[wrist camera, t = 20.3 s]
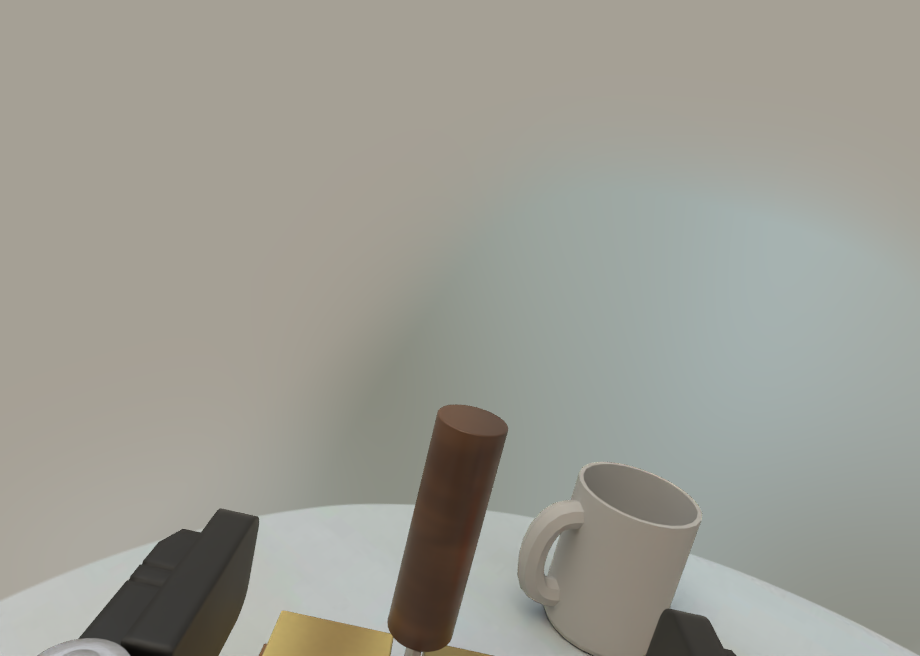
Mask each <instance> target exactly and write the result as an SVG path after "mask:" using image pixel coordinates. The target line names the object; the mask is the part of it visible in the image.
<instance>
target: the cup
mask: <svg viewBox="0 0 920 656" xmlns="http://www.w3.org/2000/svg"><path fill="white" fill-rule="evenodd" d="M701 520H702V512H701V510H700V508H699V505H698V504H697V503H696V502H695V501H694V500H693V499H692V497H691V496H689V495H688V494H687V493H685V492H684V491H683V490H682V489H680V488H679V487H677V486H676V485H674V484H672V483H671V482H669V481H667V480H665V479H663V478H661V477H659V476H657V475H655V474H653V473H650V472H647V471H645V470H642V469H639V468H636V467H632V466H628V465H625V464H619V463H612V462H596V463H590V464H588V465H586V466H584V467H582V469H581V470H580V472H579V474H578V478H577V481H576V485H575V487H574V491H573V494H572V497H571V500H565V501H561V502H557V503H553V504H552V505H550V506H549V507H547V508H545V509H544V510H542V511H541V512H540V513H539V514H538V515H537V517H536V518H535V519H534V520H533V521H532V523H531V524H530V526H529V528H528V530H527V532H526V534H525V536H524V538H523V541H522V545H521V548H520V552H519V560H518V573H517V575H518V579H519V584H520V588H521V589H522V590H523V591H524V592H525V594H526V595H527V596H528V597H529V598H531V599H532V600H534V601H536V602H538V603H541V604H543V605H544V608H545V611H546V614H547V616H548V619H549V621H550V622H551V624H552V625H553V626H554V628H555V629H556V630H557V631H558V632H559V633H560V634H561V635H562V636H563V637H564V638H565V639H566V640H567V641H569V642H570V643H572V644H573V645H575V646H576V647H577V648H579V649H581V650H583V651H585V652H587V653H589V654H591V655H593V656H643V655H645V654H646V653H647V650H648V647H649V645H650V642H651V639H652V637H653V634H654V631H655V628H656V626H657V623H658V620H659V618H660V615H661V614H662V612H663V611H664V610H665V609H669V608H670V605H671V603H672V600H673V597H674V594H675V592H676V589H677V586H678V583H679V581H680V578H681V575H682V572H683V570H684V567H685V564H686V561H687V559H688V556H689V553H690V551H691V548H692V545H693V542H694V540H695V537H696V534H697V531H698V529H699V526H700V523H701ZM559 535H560V537H559V540H558V543H557V546H556V550H555V553H554V556H553V560H552V563H551V566H550V569H549V573H548V576H545V575H544V565H545V561H546V558H547V555H548V552H549V550H550V548H551V546H552V544H553V542H554V541H555V540H556V538H557V537H558V536H559Z"/></svg>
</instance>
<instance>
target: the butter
mask: <svg viewBox="0 0 920 656" xmlns="http://www.w3.org/2000/svg"><path fill="white" fill-rule="evenodd" d="M393 638H394V637H393V636H392V635H391V634H390V633H386V632H381V631H376V630H372V629H367V628H362V627H358V626H353V625H348V624H344V623H339V622H335V621H330V620H325V619H321V618H316V617H311V616H307V615H302V614H297V613H293V612H288V611H282V612H281V614H280V616H279V618H278V620H277V623H276V625H275V627H274V630H273V632H272V634H271V637H270V639H269V641H268V643H267V644H264V645H263V648H262V650H261V652H260V654H259V656H390V655H391V649H392V643H393ZM422 656H493V655H488V654H483V653H479V652H474V651H469V650H465V649H460V648H455V647H451V646H445V647H444V648H442V649H440V650H437V651H433V652H423V653H422Z"/></svg>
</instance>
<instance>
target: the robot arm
mask: <svg viewBox="0 0 920 656" xmlns="http://www.w3.org/2000/svg"><path fill="white" fill-rule="evenodd" d="M258 527H259V517H257V516H253V515H248V514H244V513H239V512H234V511H230V510H225V509H219V510H218V511H217V512H216V513H215V514H214V516H213V517H212V518H211V520H210V521H209V522H208V524H207V525H206V527H205V528H204V529H203V531H202V532H201V533H200V532H195V531H191V530H186V529H182V530H180V531H178V532H176V533H175V534H173V535H171V536H169V537H167V538H166V539H164V540H162V541H160V542H159V543H158V544H157V545H156V546H155V547H154V549H153V550H152V551H151V552H150V553H149V555H148V556H147V557H146V558H145V559H144V561H143V564H142V565H139V567H138V568H137V569H136V570H135V571H134V573H133V574H132V575H131V576H130V579H129V581H128V580H127V581H126V582H125V583H124V585H123V586H122V587H121V588H120V590H119V591H118V592H117V593H116V594H115V596H114V597H113V598H112V599H111V600H110V602H109V603H108V604H107V605H106V606H105V608H104V609H103V610H102V611H101V612H100V614H99V615H98V616H97V617H96V618H95V620H94V621H93V622H92V623H91V624H90V626H89V627H88V628H87V629H86V630H85V632H84V633H83V634H82V635H81V636H80V638H79V639H76V640H70V641H67V642H63V643H60V644H58V645H55V646H53V647H51V648H49V649H47V650H45V651H43V652H42V653H40V654H39V655H38V656H218V655H219V654H220V652H221V650H222V648H223V646H224V644H225V642H226V640H227V638H228V636H229V634H230V632H231V630H232V629H233V627H234V625H235V623H236V621H237V619H238V616H239V614H240V611H241V609H242V606H243V603H244V600H245V597H246V593H247V589H248V584H249V578H250V573H251V567H252V561H253V556H254V550H255V544H256V539H257V533H258ZM646 656H736V655H735V654H734V653H733V651H732V650H728V649H724V648H723V646H722V644H721V642H720V640H719V638H718V636H717V635H716V633H715V631H714V629H713V627H712V625H711V623H710V621H709V620H708V619H707V618H706V617H704V616H700V615H695V614H691V613H686V612H682V611H677V610H673V609H665V610H664V611H663V612H662V614H661V615H660V618H659V620H658V623H657V626H656V628H655V631H654V634H653V637H652V639H651V642H650V645H649V647H648V650H647V653H646Z"/></svg>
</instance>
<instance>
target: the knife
mask: <svg viewBox="0 0 920 656" xmlns="http://www.w3.org/2000/svg"><path fill="white" fill-rule="evenodd" d="M507 432H508V426H507V424H506V423H505V422H504V421H503V420H502V419H501V418H500V417H498V416H496V415H494V414H492V413H491V412H488V411H486V410H483V409H480V408H477V407H472V406H466V405H447V406H443V407H442V408H440V409H439V410H438V413H437V417H436V421H435V425H434V429H433V434H432V438H431V442H430V446H429V450H428V454H427V459H426V463H425V467H424V471H423V475H422V479H421V484H420V488H419V492H418V497H417V500H416V505H415V509H414V513H413V517H412V521H411V525H410V530H409V534H408V538H407V542H406V546H405V550H404V555H403V559H402V563H401V567H400V571H399V575H398V580H397V584H396V588H395V592H394V596H393V600H392V605H391V609H390V613H389V617H388V628H389V631H390V633H391V635H392V636H393V637H394V638H395V639H396V640H397V641H398V642H399V643H400V644H402V645H403V646H405V647H406V651H405V655H404V656H421V652H433V651H437V650H440V649H442V648H444V647H445V646H446V645H447V644H448V643H449V642H450V640H451V638H452V635H453V632H454V628H455V624H456V620H457V617H458V613H459V609H460V606H461V602H462V598H463V595H464V591H465V587H466V584H467V580H468V576H469V572H470V569H471V565H472V561H473V558H474V554H475V550H476V547H477V543H478V539H479V536H480V532H481V528H482V524H483V521H484V517H485V513H486V510H487V506H488V502H489V498H490V495H491V491H492V488H493V484H494V480H495V476H496V473H497V469H498V465H499V462H500V458H501V454H502V450H503V447H504V443H505V440H506V436H507Z"/></svg>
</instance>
